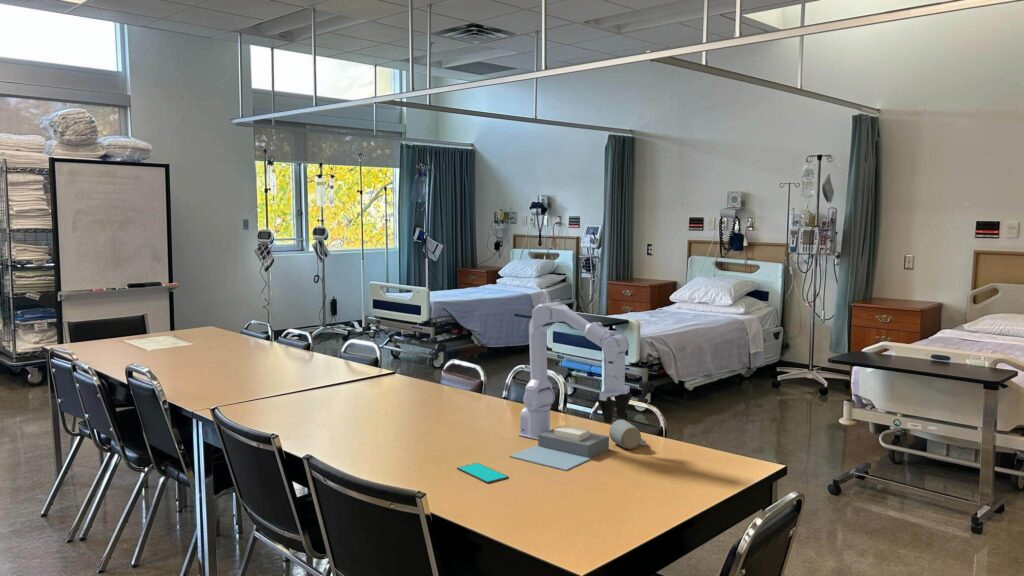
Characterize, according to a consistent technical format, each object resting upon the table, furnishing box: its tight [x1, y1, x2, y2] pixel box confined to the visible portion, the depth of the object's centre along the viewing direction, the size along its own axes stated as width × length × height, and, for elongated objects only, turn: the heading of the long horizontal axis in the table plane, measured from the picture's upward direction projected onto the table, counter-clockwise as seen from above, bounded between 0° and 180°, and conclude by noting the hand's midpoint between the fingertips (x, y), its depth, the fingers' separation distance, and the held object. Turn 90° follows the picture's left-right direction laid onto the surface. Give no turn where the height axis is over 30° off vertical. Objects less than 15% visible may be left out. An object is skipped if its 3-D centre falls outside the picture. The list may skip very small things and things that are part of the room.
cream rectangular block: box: [553, 424, 591, 441], centre depth 227 cm, size 9×6×2 cm, turn 52°
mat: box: [509, 445, 592, 472], centre depth 219 cm, size 20×13×1 cm, turn 52°
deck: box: [537, 426, 610, 459], centre depth 228 cm, size 18×12×4 cm, turn 52°
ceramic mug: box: [608, 419, 647, 450], centre depth 231 cm, size 11×8×8 cm
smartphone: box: [456, 462, 510, 485], centre depth 205 cm, size 7×1×15 cm
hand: (614, 419), depth 224 cm, fingers open, 7 cm apart
